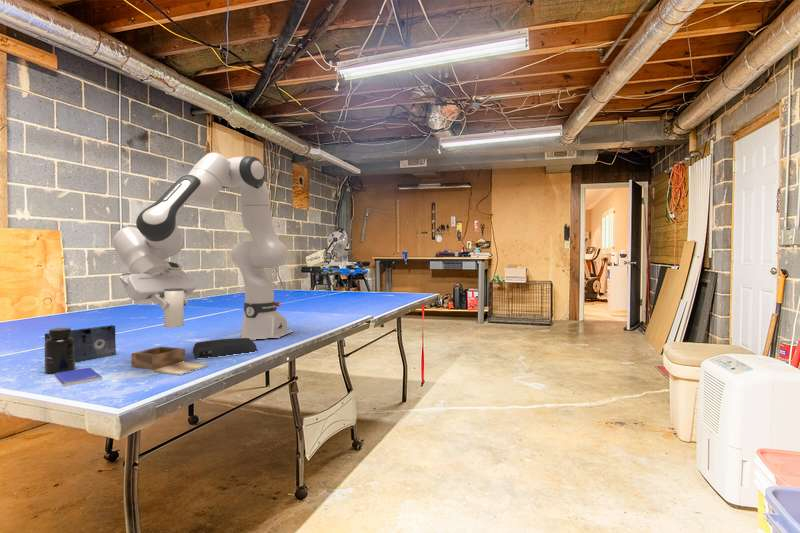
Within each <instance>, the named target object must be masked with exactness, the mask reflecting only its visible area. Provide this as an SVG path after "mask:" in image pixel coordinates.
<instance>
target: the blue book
mask: <svg viewBox="0 0 800 533" xmlns="http://www.w3.org/2000/svg"><path fill="white" fill-rule="evenodd" d="M55 377H56V378H55ZM54 378H55V379H56V380H57V381H58V383H59V384H60V383H61V384H62V385H61V386H62V387H69V386H74V385H80V384H86V383H90V382H91V383H92V382H95V381H96V382H97V381H101V380H103V376H102V375H100V374H99V373H98V372H96V370H94V369H93V368H92V367H85V368H77V369H73V370H71V371H65V372H59V373H55V374H54Z"/></svg>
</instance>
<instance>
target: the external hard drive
mask: <svg viewBox="0 0 800 533" xmlns="http://www.w3.org/2000/svg"><path fill="white" fill-rule="evenodd" d="M192 349H193V350H192V354H194V355H193V358H194V357H195V358H194V359H196V360H198V359H197V358H208V357H218V356H226V355H233V354H241V353H249V352H255V351H258V348H257V345H256V343H255V342H254V340H250V339H249V338H241V337H238V338H236V337H231V338H220V339H212V340H203V341H199V342H198V341H197V342H195V344H194V345H193V348H192ZM218 358H219V357H218ZM208 359H209V358H208Z"/></svg>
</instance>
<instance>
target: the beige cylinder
mask: <svg viewBox="0 0 800 533" xmlns="http://www.w3.org/2000/svg"><path fill="white" fill-rule="evenodd" d="M163 300H164V301H167V302H168V303H169V307H168V308H166V309H163V311H164V312H163V318H164V320H163V321H164V322H163V323H164V324H163V327H164V328H169V329H170V328H180V327H184V324H185V323H184V322H185V321H184V320H185V318H184V316H185V315H184V312H185V311H184V310H185V309H184V307H185V306H184V288H170V289H164V298H163Z"/></svg>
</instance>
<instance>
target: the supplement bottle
mask: <svg viewBox="0 0 800 533" xmlns="http://www.w3.org/2000/svg"><path fill="white" fill-rule="evenodd" d="M71 330H72V329H71V328H70V327H57V328H51V329H49V330H48V333H49V337H50V339H48V340H47V341H46V342H45V341H44V372H45V373H46V374H53V375H55V374H54V373H59V372H65V371H72V370H75V368H76V363H75V339H74V338H72V337H70V335H71Z"/></svg>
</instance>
